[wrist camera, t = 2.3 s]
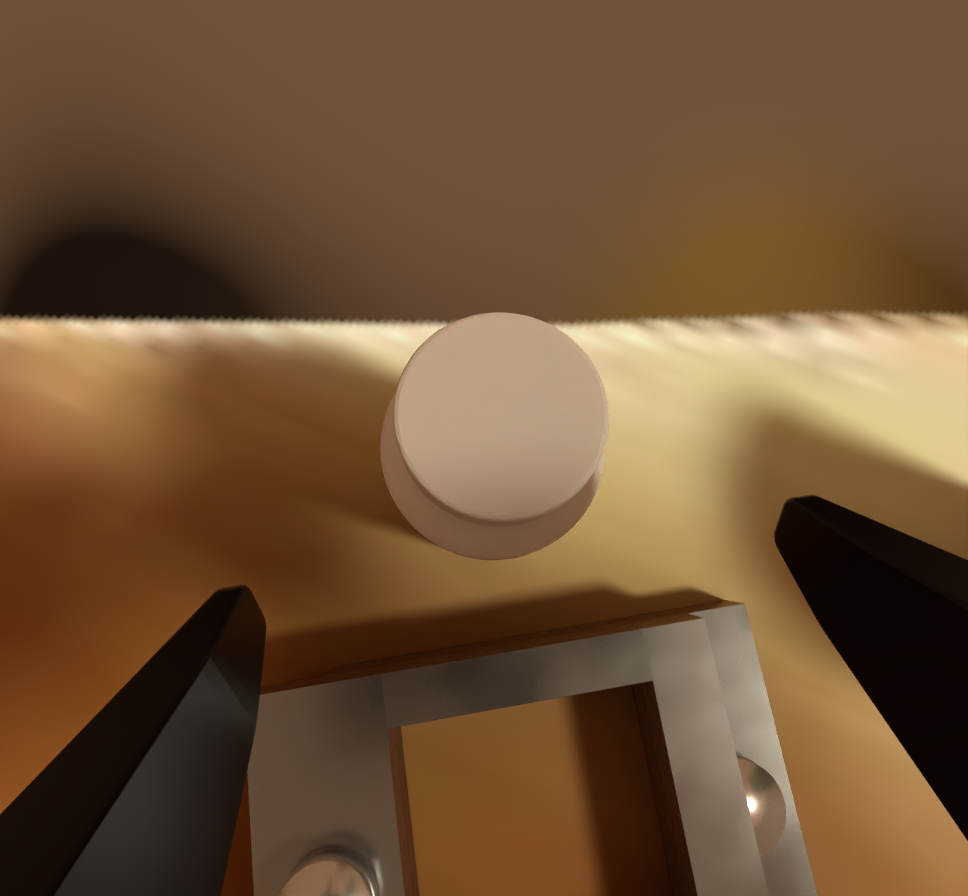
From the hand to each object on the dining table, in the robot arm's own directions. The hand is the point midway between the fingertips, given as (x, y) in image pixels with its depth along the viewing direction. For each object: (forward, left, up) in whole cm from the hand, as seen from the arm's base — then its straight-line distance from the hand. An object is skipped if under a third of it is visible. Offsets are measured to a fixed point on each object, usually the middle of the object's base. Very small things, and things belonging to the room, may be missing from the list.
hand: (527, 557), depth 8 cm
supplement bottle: (+2, +1, -10) cm, 10 cm away
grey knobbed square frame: (-7, -4, -10) cm, 13 cm away
